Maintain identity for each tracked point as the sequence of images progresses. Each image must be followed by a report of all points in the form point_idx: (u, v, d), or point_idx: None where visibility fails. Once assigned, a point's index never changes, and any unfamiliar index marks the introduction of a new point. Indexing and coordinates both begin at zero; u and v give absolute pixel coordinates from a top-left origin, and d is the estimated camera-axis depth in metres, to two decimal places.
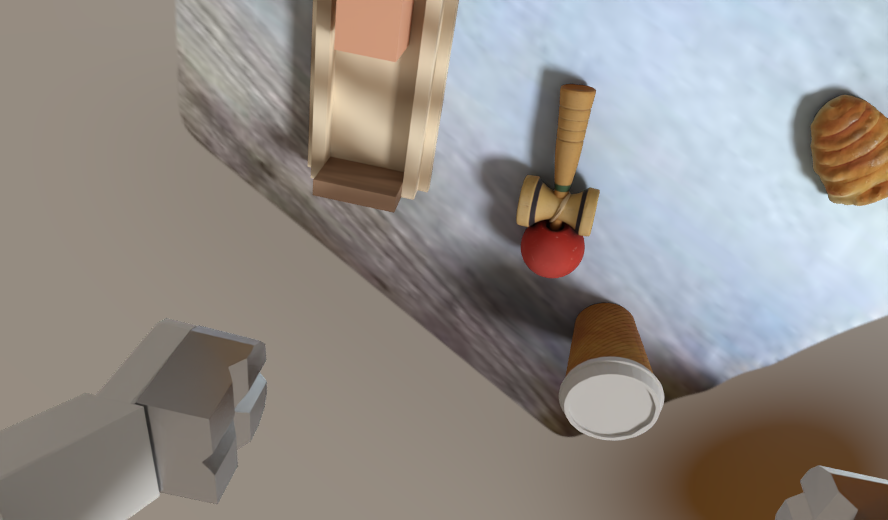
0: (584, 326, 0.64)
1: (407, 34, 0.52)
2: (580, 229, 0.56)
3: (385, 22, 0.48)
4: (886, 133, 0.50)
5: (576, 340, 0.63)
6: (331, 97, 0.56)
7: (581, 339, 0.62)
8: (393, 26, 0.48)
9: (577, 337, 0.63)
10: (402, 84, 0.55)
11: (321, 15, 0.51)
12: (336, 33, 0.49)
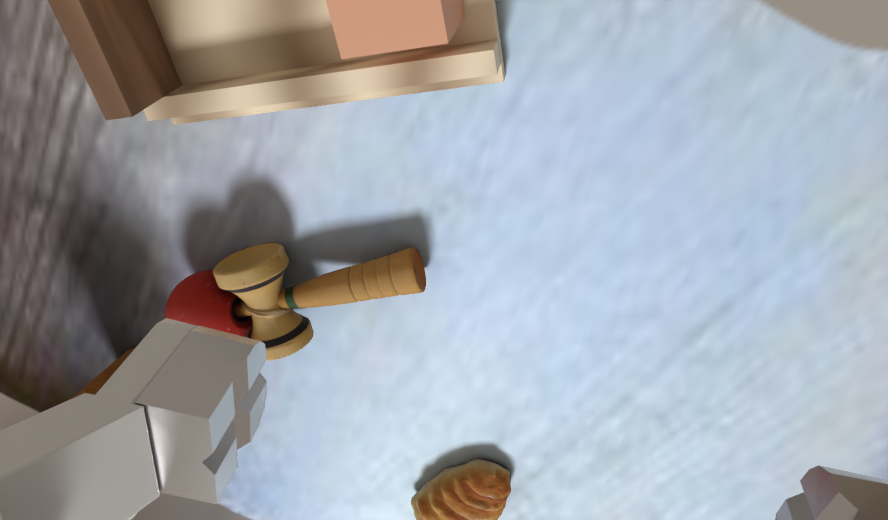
0: None
1: None
2: None
3: (395, 24, 0.27)
4: (490, 519, 0.52)
5: None
6: None
7: None
8: (395, 40, 0.28)
9: None
10: (308, 38, 0.34)
11: None
12: None
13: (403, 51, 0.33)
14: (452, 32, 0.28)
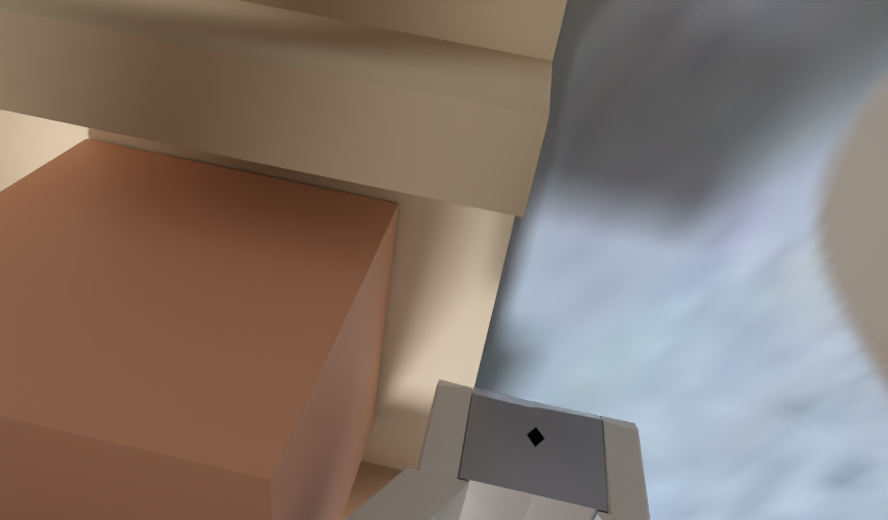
0: None
1: None
2: None
3: None
4: None
5: None
6: None
7: None
8: None
9: None
10: None
11: (98, 68, 0.07)
12: None
13: None
14: None
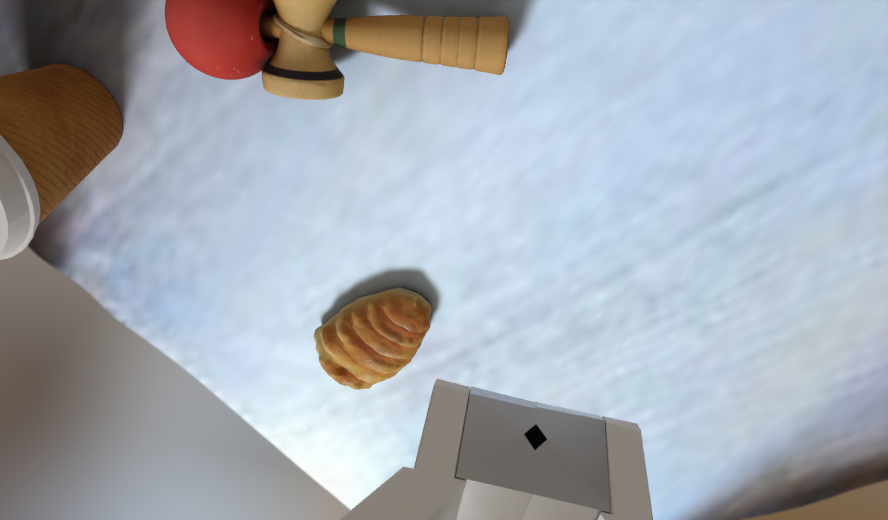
0: (63, 93, 0.37)
1: None
2: (276, 78, 0.33)
3: None
4: (402, 358, 0.46)
5: (30, 88, 0.35)
6: None
7: (36, 100, 0.35)
8: None
9: (37, 88, 0.36)
10: None
11: None
12: None
13: None
14: None
